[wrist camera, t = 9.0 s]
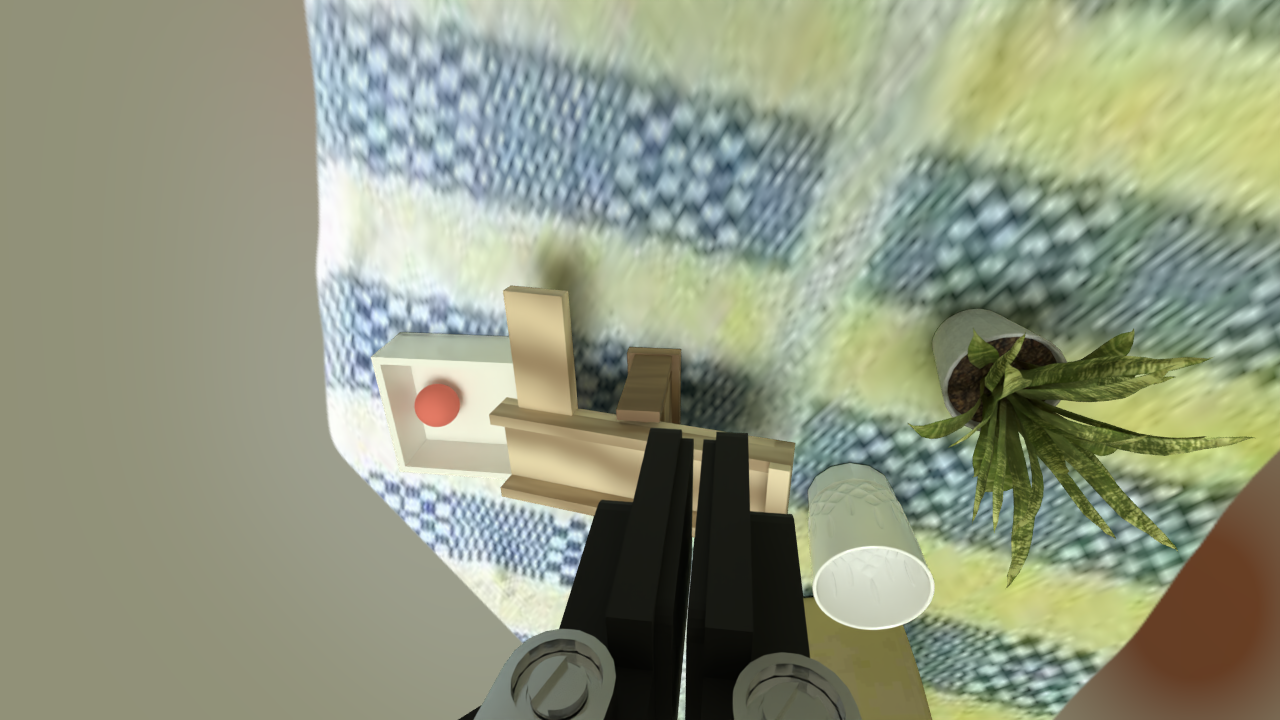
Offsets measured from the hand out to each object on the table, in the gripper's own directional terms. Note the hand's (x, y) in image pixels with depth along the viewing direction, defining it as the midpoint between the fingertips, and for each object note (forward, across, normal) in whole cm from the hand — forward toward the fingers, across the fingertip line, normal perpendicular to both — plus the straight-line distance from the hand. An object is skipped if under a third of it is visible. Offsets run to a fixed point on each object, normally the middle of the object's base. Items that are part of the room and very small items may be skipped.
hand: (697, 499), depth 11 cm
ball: (+31, +22, +18) cm, 42 cm away
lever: (+26, +5, +14) cm, 30 cm away
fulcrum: (+33, +5, +18) cm, 38 cm away
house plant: (+33, -18, +13) cm, 40 cm away
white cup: (+33, -11, +26) cm, 44 cm away
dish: (+33, +20, +18) cm, 43 cm away
